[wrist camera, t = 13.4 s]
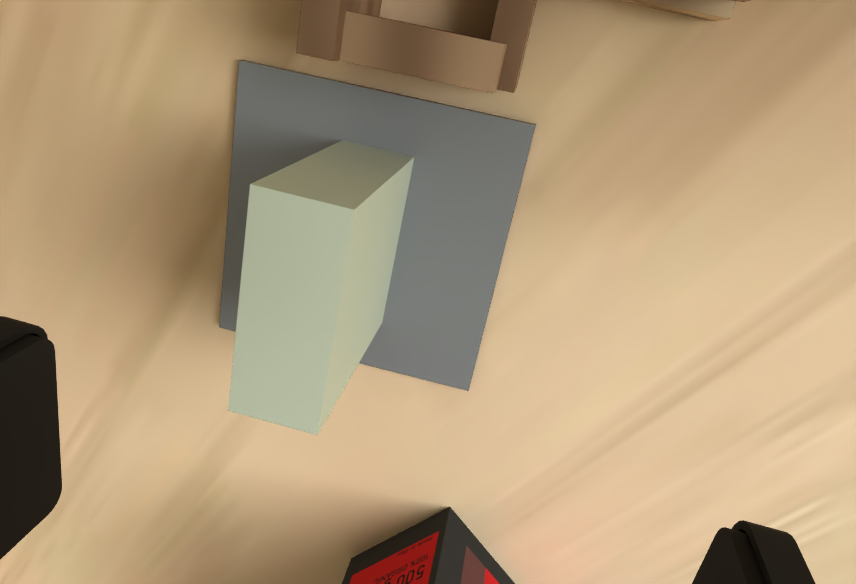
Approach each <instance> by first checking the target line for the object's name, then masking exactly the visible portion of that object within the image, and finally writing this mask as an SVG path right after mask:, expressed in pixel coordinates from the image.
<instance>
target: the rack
mask: <svg viewBox="0 0 856 584" xmlns="http://www.w3.org/2000/svg"><path fill="white" fill-rule="evenodd" d="M381 1H382V0H302V4H301V14H300V23H299V32H298V42H297V51H296V53H299V54H303V55H308V56H312V57H317V58H322V59H326V60H331V61H338V60H340V61H345V62H349V63H354V64H358V65H363V66H368V67H372V68H377V69H381V70H386V71H391V72H395V73H400V74H405V75H409V76H414V77H418V78H423V79H428V80H432V81H437V82H441V83H446V84H451V85H455V86H460V87H464V88H469V89H474V90H478V91H483V92H488V93H492V94H493V93H494V92H495V91H496V90H497V89H498V90H503V91H508V92H512V93H514V92H515V90H516V87H517V83H518V79H519V74H520V70H521V66H522V62H523V57H524V53H525V49H526V45H527V40H528V36H529V32H530V28H531V23H532V19H533V15H534V11H535V6H536V2H537V0H499V1H498V6H497V10H496V15H495V20H494V24H493V29H492V34H491V38H490V40H487V39H482V38H477V37H472V36H468V35H463V34H458V33H453V32H449V31H444V30H439V29H434V28H430V27H425V26H420V25H415V24H411V23H406V22H401V21H396V20H392V19H387V18H382V17H379V14H380V7H381Z"/></svg>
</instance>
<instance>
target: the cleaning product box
mask: <svg viewBox="0 0 856 584" xmlns="http://www.w3.org/2000/svg"><path fill="white" fill-rule="evenodd" d="M342 584H515V583H514V582H513V581H512V580H511V579H510V577H509V576H508V575H507V574H506V573H505V571H504V570H503V569H502V568H501V567H500V565H499V564H498V563H497V562H496V561H495V560H494V558H493V557H492V556H491V555H490V554H489V552H488V551H487V550H486V549H485V548H484V547H483V545H482V544H481V543H480V542H479V541H478V539H477V538H476V537H475V536H474V535H473V533H472V532H471V531H470V530H469V529H468V528H467V526H466V525H465V524H464V523H463V522H462V520H461V519H460V518H459V517H458V516H457V515H456V513H455V512H454V511H453V510H452V509H451V507H449V508H447V509H445V510H443V511H441V512H439V513H437V514H435V515H433V516H431V517H430V518H428V519H426V520H424V521H422V522H420V523H418V524H416V525H414V526H412V527H410V528H409V529H407V530H405V531H403V532H401V533H399V534H397V535H395V536H393V537H391V538H389V539H388V540H386V541H384V542H382V543H380V544H378V545H376V546H374V547H372V548H370V549H368V550H367V551H365V552H363V553H361V554H359V555H357V556H355V557H353V558H351V561H350V563H349V566H348V569H347V571H346V574H345V577H344V580H343V582H342Z"/></svg>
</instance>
